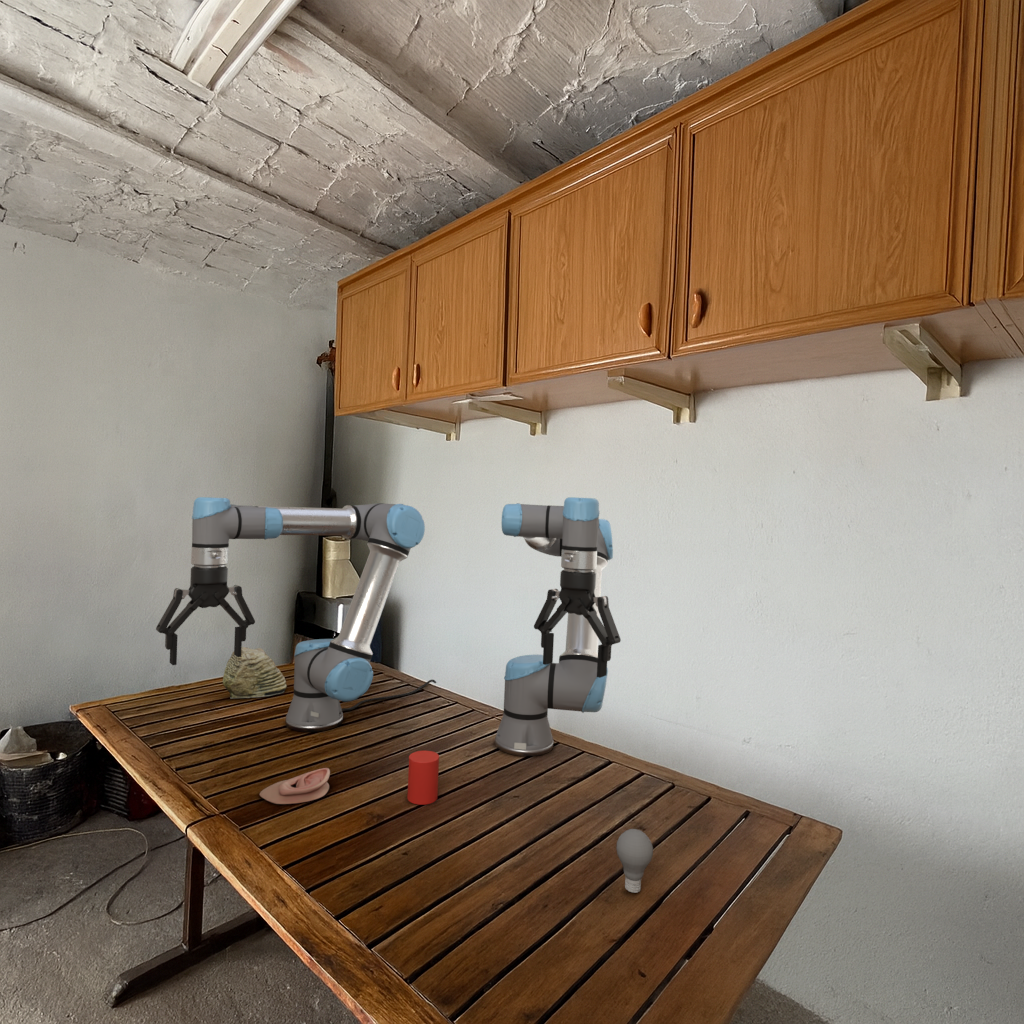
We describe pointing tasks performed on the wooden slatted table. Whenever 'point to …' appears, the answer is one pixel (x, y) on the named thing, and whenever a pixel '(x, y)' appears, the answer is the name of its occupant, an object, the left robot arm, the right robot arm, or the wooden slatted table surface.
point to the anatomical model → (298, 788)
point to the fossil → (253, 675)
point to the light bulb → (634, 857)
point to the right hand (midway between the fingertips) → (573, 669)
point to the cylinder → (423, 777)
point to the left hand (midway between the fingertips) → (206, 659)
